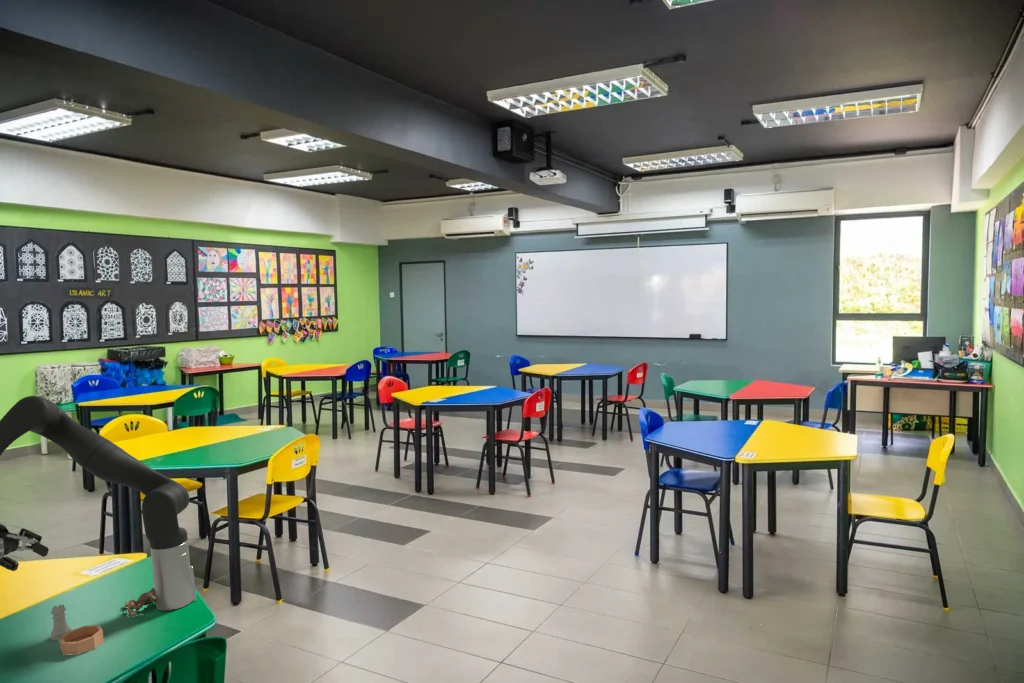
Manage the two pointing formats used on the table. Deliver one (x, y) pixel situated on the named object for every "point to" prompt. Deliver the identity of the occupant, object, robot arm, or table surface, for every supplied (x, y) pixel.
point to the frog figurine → (140, 602)
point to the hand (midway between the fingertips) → (32, 560)
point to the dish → (81, 639)
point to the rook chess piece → (59, 623)
